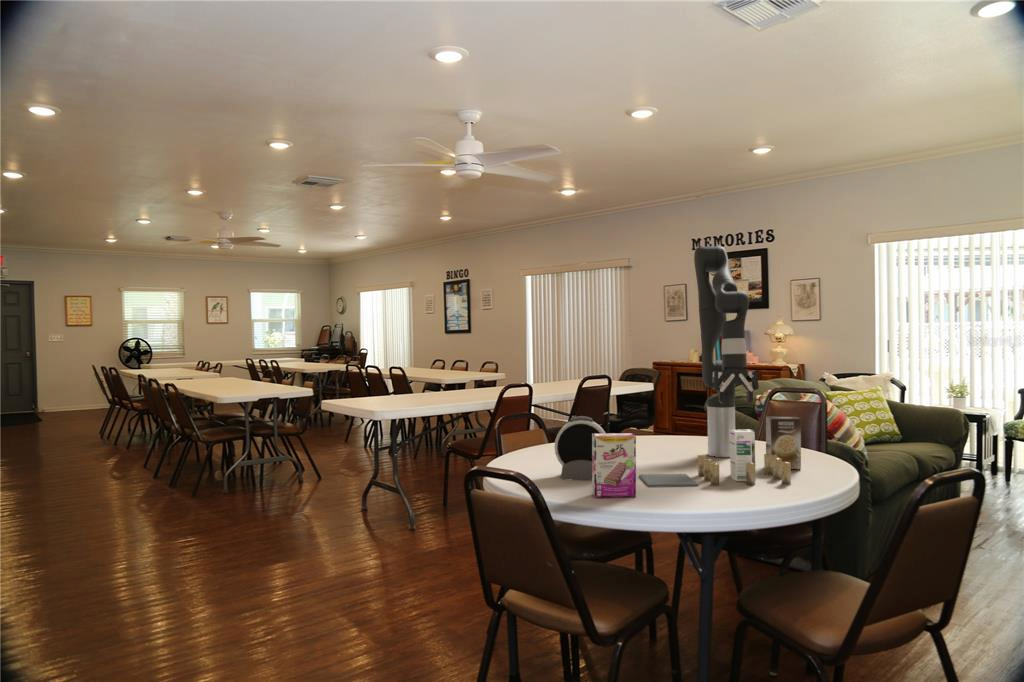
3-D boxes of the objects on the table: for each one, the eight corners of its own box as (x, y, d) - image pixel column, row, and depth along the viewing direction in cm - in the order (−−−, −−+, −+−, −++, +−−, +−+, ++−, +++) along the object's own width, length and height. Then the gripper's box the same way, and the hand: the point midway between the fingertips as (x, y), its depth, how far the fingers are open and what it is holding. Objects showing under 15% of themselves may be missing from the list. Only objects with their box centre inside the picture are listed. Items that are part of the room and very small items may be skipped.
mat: (639, 476, 203) (639, 474, 203) (685, 475, 203) (685, 473, 203) (648, 486, 189) (648, 484, 189) (698, 486, 189) (698, 483, 189)
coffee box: (771, 470, 209) (770, 418, 209) (765, 466, 216) (764, 416, 215) (801, 470, 208) (801, 418, 208) (795, 466, 215) (794, 416, 215)
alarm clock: (554, 480, 200) (553, 418, 200) (557, 473, 210) (556, 414, 210) (609, 480, 198) (608, 418, 198) (609, 473, 208) (608, 414, 208)
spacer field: (697, 474, 204) (696, 455, 204) (771, 473, 204) (770, 453, 204) (712, 486, 189) (711, 464, 189) (792, 484, 189) (791, 463, 189)
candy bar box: (594, 498, 176) (593, 436, 176) (591, 494, 181) (591, 433, 181) (637, 497, 177) (636, 435, 177) (633, 493, 182) (632, 432, 182)
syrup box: (735, 481, 194) (734, 431, 194) (730, 477, 200) (729, 428, 199) (755, 481, 193) (755, 431, 193) (749, 477, 199) (748, 428, 199)
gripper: (751, 353, 221) (753, 403, 220) (708, 354, 221) (710, 403, 220) (760, 352, 214) (762, 403, 213) (715, 352, 214) (717, 404, 213)
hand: (735, 403), depth 216 cm, fingers open, 8 cm apart
